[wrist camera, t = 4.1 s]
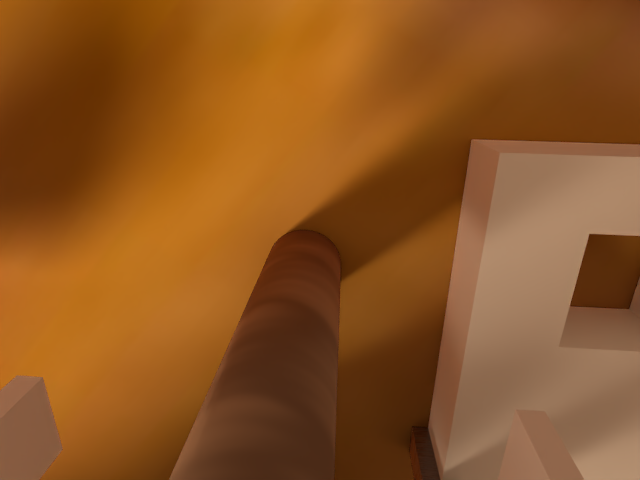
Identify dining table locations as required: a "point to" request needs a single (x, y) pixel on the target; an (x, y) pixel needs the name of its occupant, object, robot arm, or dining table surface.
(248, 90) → the dining table surface
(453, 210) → the dining table surface
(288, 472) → the peg
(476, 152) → the socket deck
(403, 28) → the dining table surface
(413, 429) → the gray arch stand
